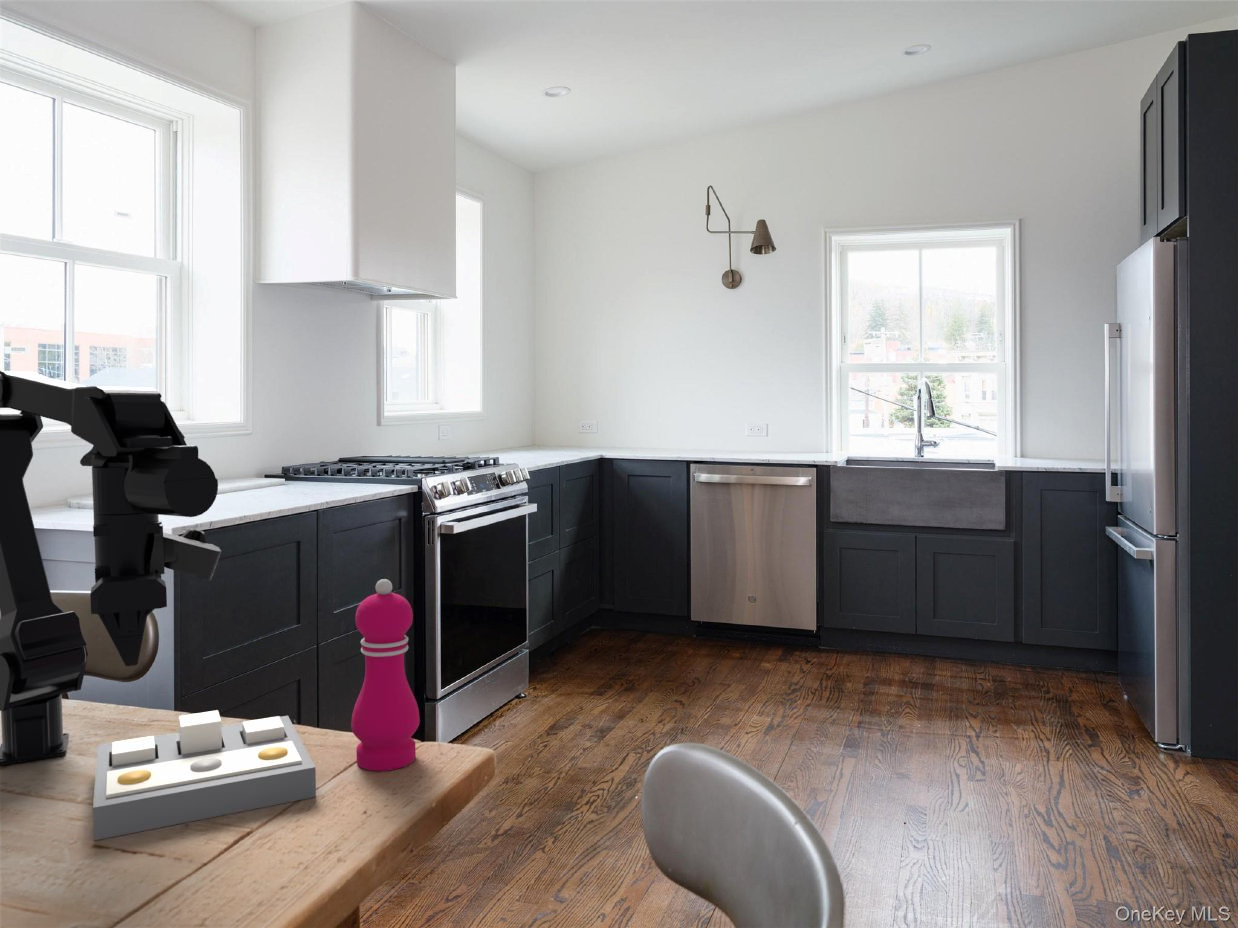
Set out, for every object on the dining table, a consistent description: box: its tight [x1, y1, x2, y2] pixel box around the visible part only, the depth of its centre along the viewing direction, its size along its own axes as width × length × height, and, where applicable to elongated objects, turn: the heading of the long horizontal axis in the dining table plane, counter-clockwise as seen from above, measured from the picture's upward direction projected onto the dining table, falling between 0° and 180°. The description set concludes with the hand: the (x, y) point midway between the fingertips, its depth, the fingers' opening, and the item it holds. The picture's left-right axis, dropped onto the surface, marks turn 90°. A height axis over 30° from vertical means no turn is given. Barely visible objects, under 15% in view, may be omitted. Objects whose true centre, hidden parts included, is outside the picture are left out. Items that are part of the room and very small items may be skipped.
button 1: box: [111, 735, 155, 766], centre depth 92 cm, size 4×4×3 cm
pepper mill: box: [350, 578, 421, 772], centre depth 98 cm, size 7×7×20 cm
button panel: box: [92, 715, 317, 842], centre depth 92 cm, size 17×19×4 cm
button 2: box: [241, 715, 284, 744], centre depth 98 cm, size 4×4×3 cm
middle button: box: [178, 709, 222, 755], centre depth 95 cm, size 4×4×3 cm
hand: (131, 664), depth 91 cm, fingers closed
